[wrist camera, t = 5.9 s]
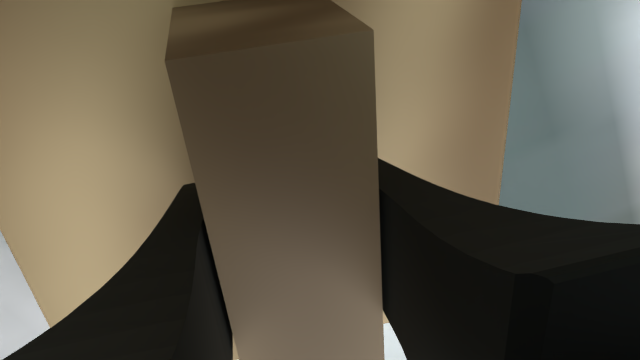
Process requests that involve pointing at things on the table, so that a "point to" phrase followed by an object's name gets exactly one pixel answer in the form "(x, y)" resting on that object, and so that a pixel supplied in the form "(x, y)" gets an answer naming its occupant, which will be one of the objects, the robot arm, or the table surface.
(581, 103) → the table surface
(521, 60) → the table surface
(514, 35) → the oak lid
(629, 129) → the table surface
